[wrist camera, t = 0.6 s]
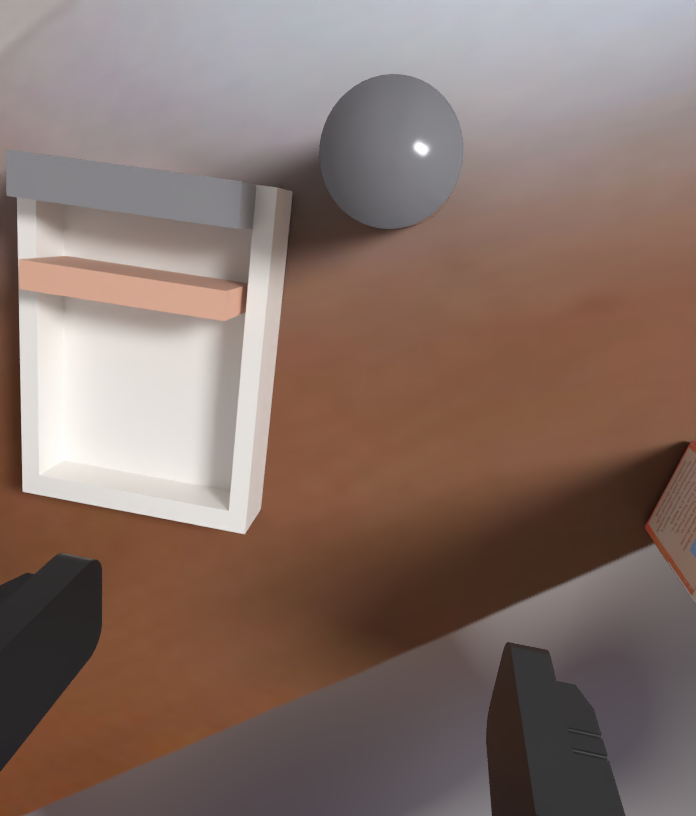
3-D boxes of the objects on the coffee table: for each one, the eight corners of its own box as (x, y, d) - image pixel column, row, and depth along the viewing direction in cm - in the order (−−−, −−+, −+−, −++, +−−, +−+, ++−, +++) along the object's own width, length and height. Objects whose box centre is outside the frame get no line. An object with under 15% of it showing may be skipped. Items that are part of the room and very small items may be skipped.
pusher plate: (66, 255, 34) (18, 259, 30) (251, 283, 33) (226, 291, 29) (66, 282, 34) (19, 289, 30) (249, 310, 33) (224, 321, 29)
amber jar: (359, 111, 31) (328, 66, 22) (466, 124, 30) (475, 83, 22) (345, 221, 32) (311, 218, 24) (447, 235, 32) (449, 238, 23)
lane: (54, 158, 34) (-16, 146, 28) (292, 191, 32) (264, 184, 27) (55, 470, 39) (-4, 508, 34) (260, 509, 37) (232, 554, 32)
